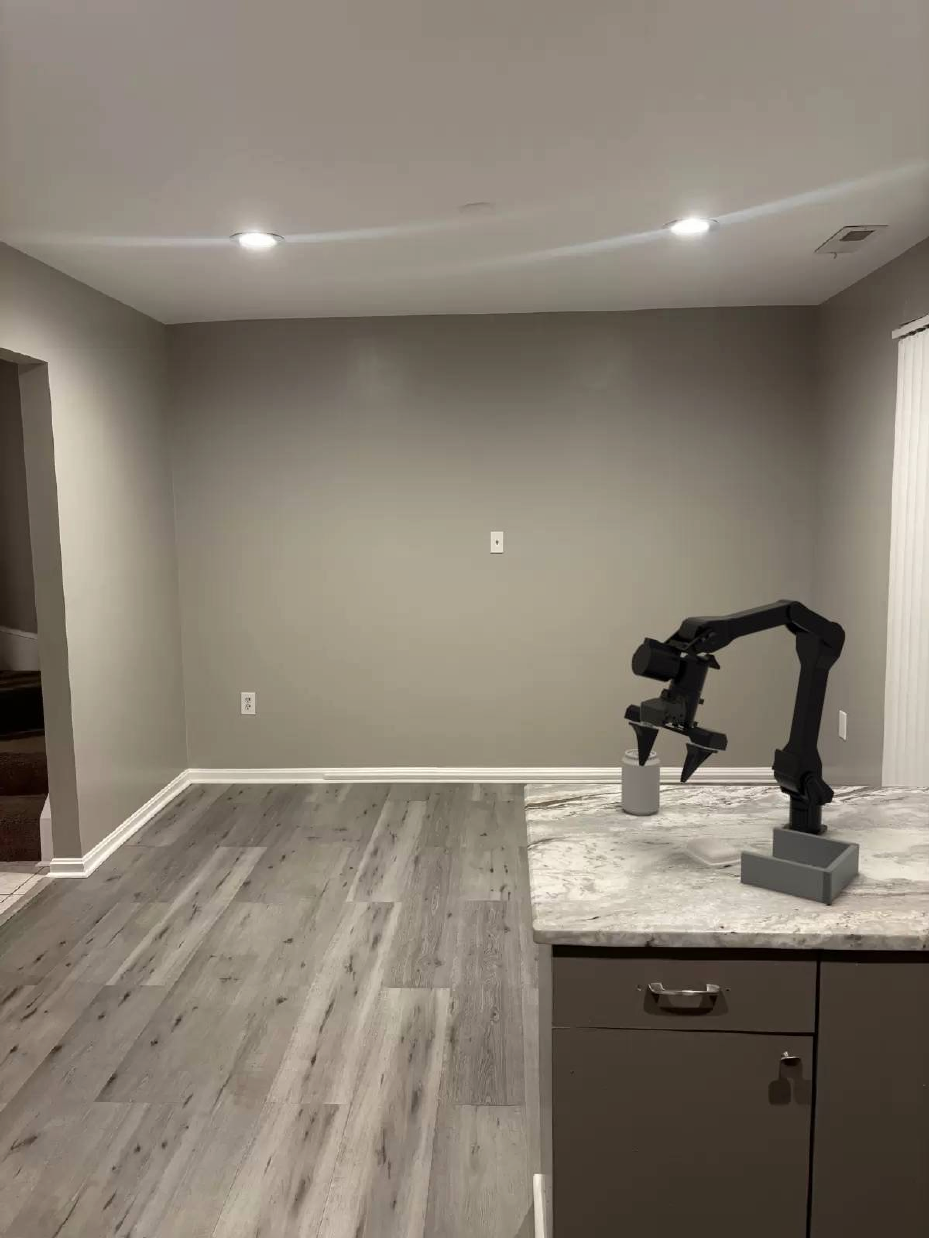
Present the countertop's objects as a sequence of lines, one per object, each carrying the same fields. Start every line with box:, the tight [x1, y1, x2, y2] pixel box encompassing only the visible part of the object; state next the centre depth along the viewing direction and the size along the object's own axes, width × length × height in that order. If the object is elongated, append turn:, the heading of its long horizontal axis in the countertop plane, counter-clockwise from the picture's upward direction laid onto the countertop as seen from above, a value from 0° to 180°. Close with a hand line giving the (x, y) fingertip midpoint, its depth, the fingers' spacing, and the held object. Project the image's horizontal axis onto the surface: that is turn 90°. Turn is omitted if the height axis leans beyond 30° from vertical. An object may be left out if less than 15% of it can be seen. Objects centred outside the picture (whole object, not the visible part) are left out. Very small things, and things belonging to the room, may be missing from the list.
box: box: [740, 826, 860, 905], centre depth 154 cm, size 15×14×5 cm
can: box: [620, 748, 661, 816], centre depth 188 cm, size 8×8×12 cm
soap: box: [683, 836, 741, 870], centre depth 163 cm, size 9×7×3 cm
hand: (661, 773), depth 165 cm, fingers open, 9 cm apart
